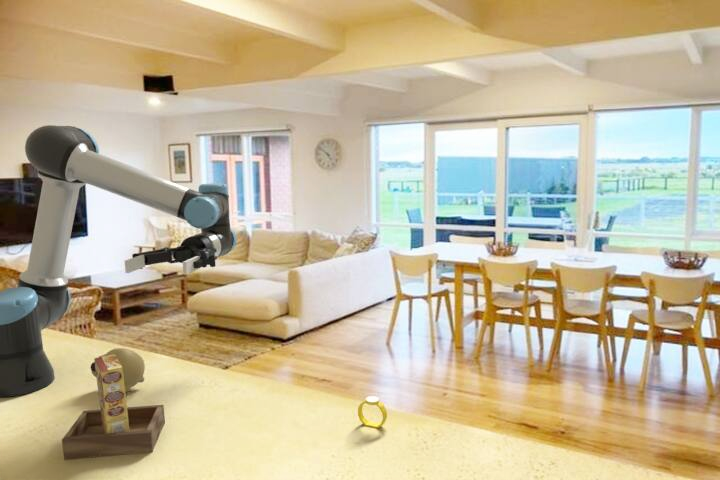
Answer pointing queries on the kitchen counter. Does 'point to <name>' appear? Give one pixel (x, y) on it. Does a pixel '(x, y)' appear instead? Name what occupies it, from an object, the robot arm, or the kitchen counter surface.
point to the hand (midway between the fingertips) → (155, 267)
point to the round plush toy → (127, 366)
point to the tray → (114, 434)
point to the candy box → (111, 394)
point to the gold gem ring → (372, 401)
